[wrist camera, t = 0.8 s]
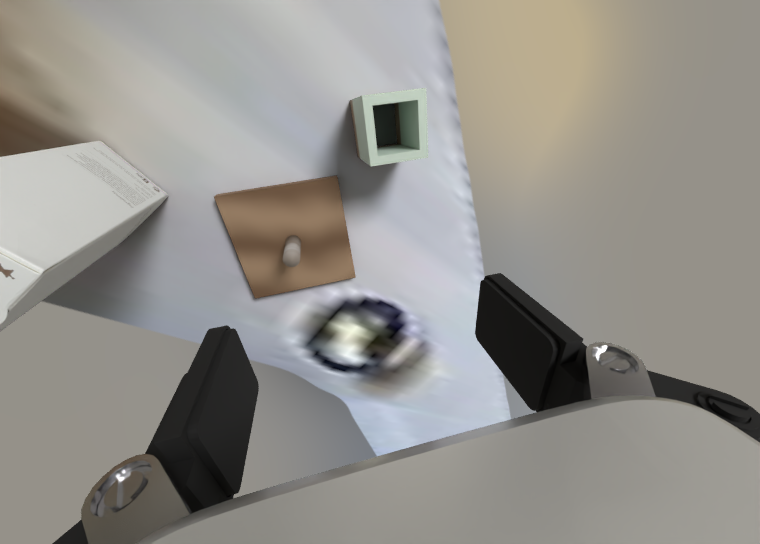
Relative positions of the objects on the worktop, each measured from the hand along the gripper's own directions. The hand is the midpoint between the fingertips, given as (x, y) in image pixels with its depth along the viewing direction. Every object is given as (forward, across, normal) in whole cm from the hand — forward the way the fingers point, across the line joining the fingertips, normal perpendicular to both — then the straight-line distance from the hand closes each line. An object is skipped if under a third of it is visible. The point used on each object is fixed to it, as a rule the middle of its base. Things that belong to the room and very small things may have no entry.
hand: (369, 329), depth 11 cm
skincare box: (+23, +20, -2) cm, 31 cm away
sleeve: (+23, -6, -6) cm, 24 cm away
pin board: (+23, +5, +4) cm, 24 cm away
